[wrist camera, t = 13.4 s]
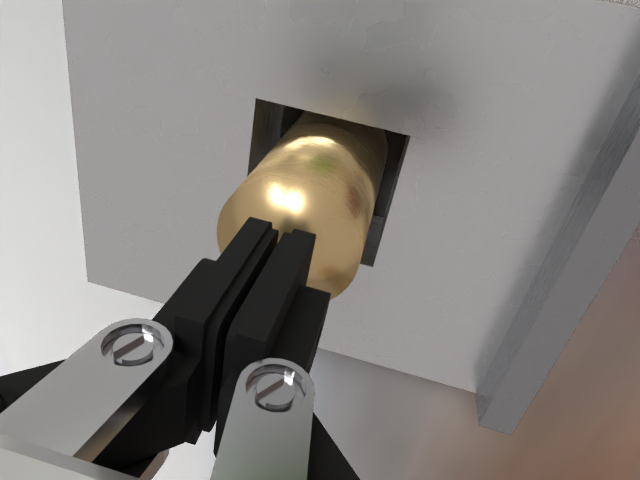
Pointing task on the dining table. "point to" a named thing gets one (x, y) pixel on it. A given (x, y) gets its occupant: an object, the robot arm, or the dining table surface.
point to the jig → (413, 170)
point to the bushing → (316, 193)
